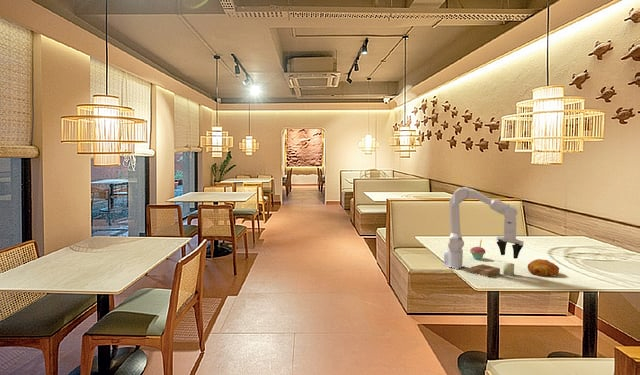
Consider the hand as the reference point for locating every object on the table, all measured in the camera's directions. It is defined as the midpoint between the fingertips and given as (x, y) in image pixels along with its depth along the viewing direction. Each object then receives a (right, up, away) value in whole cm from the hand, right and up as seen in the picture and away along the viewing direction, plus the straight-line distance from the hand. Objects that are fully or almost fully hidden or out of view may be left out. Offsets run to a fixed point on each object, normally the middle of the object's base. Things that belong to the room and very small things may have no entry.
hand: (509, 256), depth 214 cm
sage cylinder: (0, -9, +1) cm, 9 cm away
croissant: (+19, -10, +3) cm, 22 cm away
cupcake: (-4, -7, +34) cm, 34 cm away
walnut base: (-11, -9, +3) cm, 15 cm away
